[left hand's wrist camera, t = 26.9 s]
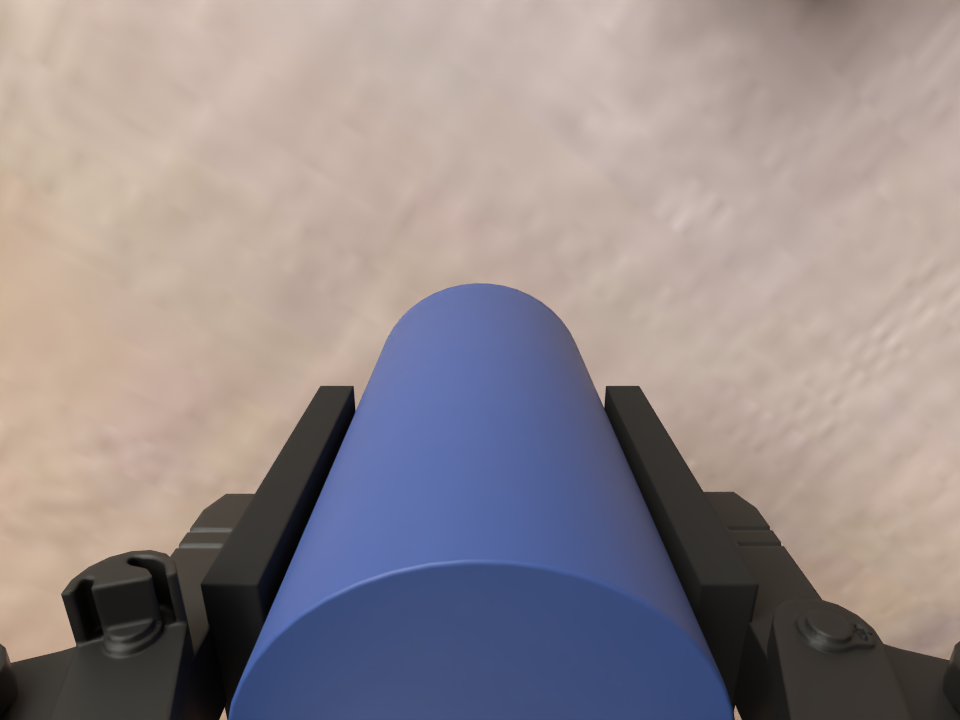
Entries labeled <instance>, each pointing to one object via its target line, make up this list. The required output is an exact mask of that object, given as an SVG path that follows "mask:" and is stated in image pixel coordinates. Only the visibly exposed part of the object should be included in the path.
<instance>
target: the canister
mask: <svg viewBox="0 0 960 720" xmlns="http://www.w3.org/2000/svg"><path fill="white" fill-rule="evenodd" d="M228 720H735V719H734V712H733V707H732V704H731V701H730V698H729V695H728V692H727V689H726V686H725V683H724V681H723V679H722V676H721V674H720V672H719V670H718V667H717V665H716V663H715V660H714V658H713V656H712V654H711V651H710V649H709V647H708V644H707V642H706V640H705V638H704V635H703V633H702V631H701V628H700V626H699V624H698V622H697V619H696V617H695V615H694V612H693V610H692V608H691V606H690V603H689V601H688V599H687V596H686V594H685V592H684V590H683V587H682V585H681V583H680V581H679V578H678V576H677V574H676V571H675V569H674V567H673V565H672V562H671V560H670V558H669V555H668V553H667V551H666V549H665V546H664V544H663V542H662V539H661V537H660V535H659V533H658V530H657V528H656V526H655V523H654V521H653V519H652V517H651V514H650V512H649V510H648V507H647V505H646V503H645V501H644V498H643V496H642V494H641V491H640V489H639V487H638V485H637V482H636V480H635V478H634V476H633V473H632V471H631V469H630V466H629V464H628V462H627V460H626V457H625V455H624V453H623V450H622V448H621V446H620V444H619V441H618V439H617V437H616V434H615V432H614V430H613V428H612V425H611V423H610V421H609V418H608V416H607V414H606V412H605V409H604V407H603V405H602V402H601V400H600V398H599V396H598V393H597V391H596V389H595V386H594V384H593V382H592V380H591V377H590V375H589V373H588V371H587V368H586V366H585V364H584V361H583V359H582V357H581V355H580V352H579V350H578V348H577V345H576V343H575V341H574V339H573V337H572V335H571V333H570V332H569V330H568V329H567V327H566V326H565V324H564V323H563V322H562V320H561V319H560V318H559V317H558V316H557V315H556V314H555V313H554V312H553V311H552V310H551V309H550V308H548V307H547V306H546V305H545V304H543V303H542V302H541V301H539V300H537V299H535V298H534V297H532V296H530V295H528V294H526V293H524V292H521V291H519V290H517V289H513V288H509V287H506V286H501V285H495V284H466V285H459V286H455V287H451V288H447V289H445V290H442V291H439V292H437V293H434V294H432V295H431V296H429V297H427V298H425V299H423V300H422V301H420V302H419V303H418V304H416V305H415V306H414V307H412V308H411V309H410V310H409V311H408V312H407V313H406V314H405V315H404V316H403V317H402V318H401V319H400V320H399V321H398V323H397V324H396V325H395V327H394V328H393V330H392V331H391V333H390V335H389V337H388V338H387V340H386V343H385V345H384V347H383V350H382V352H381V354H380V357H379V359H378V361H377V364H376V366H375V368H374V370H373V373H372V375H371V377H370V380H369V382H368V384H367V387H366V389H365V391H364V394H363V396H362V398H361V401H360V403H359V405H358V408H357V410H356V412H355V415H354V417H353V419H352V422H351V424H350V426H349V428H348V431H347V433H346V435H345V438H344V440H343V442H342V445H341V447H340V449H339V452H338V454H337V456H336V459H335V461H334V463H333V466H332V468H331V470H330V473H329V475H328V477H327V480H326V482H325V484H324V486H323V489H322V491H321V493H320V496H319V498H318V500H317V503H316V505H315V507H314V510H313V512H312V514H311V517H310V519H309V521H308V524H307V526H306V528H305V531H304V533H303V535H302V538H301V540H300V542H299V544H298V547H297V549H296V551H295V554H294V556H293V558H292V561H291V563H290V565H289V568H288V570H287V572H286V575H285V577H284V579H283V582H282V584H281V586H280V589H279V591H278V593H277V596H276V598H275V600H274V602H273V605H272V607H271V609H270V612H269V614H268V616H267V619H266V621H265V623H264V626H263V628H262V630H261V633H260V635H259V637H258V640H257V642H256V644H255V647H254V649H253V651H252V654H251V656H250V658H249V660H248V663H247V665H246V667H245V670H244V672H243V674H242V677H241V679H240V682H239V684H238V687H237V689H236V692H235V694H234V697H233V699H232V702H231V707H230V712H229V717H228Z"/></svg>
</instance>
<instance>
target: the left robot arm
mask: <svg viewBox="0 0 960 720" xmlns="http://www.w3.org/2000/svg"><path fill="white" fill-rule="evenodd" d="M604 409H605V412H606V414H607V416H608V418H609V421H610V423H611V425H612V428H613V430H614V432H615V434H616V437H617V439H618V441H619V444H620V446H621V448H622V450H623V453H624V455H625V457H626V460H627V462H628V464H629V466H630V469H631V471H632V473H633V476H634V478H635V480H636V482H637V485H638V487H639V489H640V491H641V494H642V496H643V498H644V501H645V503H646V505H647V507H648V510H649V512H650V514H651V517H652V519H653V521H654V523H655V526H656V528H657V530H658V533H659V535H660V537H661V539H662V542H663V544H664V546H665V549H666V551H667V553H668V555H669V558H670V560H671V562H672V565H673V567H674V569H675V571H676V574H677V576H678V578H679V581H680V583H681V585H682V587H683V590H684V592H685V594H686V596H687V599H688V601H689V603H690V606H691V608H692V610H693V612H694V615H695V617H696V619H697V622H698V624H699V626H700V628H701V631H702V633H703V635H704V638H705V640H706V642H707V644H708V647H709V649H710V651H711V654H712V656H713V658H714V660H715V663H716V665H717V667H718V670H719V672H720V674H721V676H722V679H723V681H724V683H725V686H726V689H727V692H728V695H729V698H730V701H731V704H732V707H733V712H734V708H735V705H736V707H737V710H738V712H739V714H740V716H741V719H742V720H960V642H958V643H957V644H956V645H955V647H954V650H953V652H952V655H951V658H950V661H949V660H945V659H941V658H937V657H932V656H928V655H924V654H919V653H915V652H911V651H907V650H902V649H898V648H895V647H892V646H888V645H885V644H883V642H882V641H881V639H880V638H879V636H878V635H877V633H876V632H875V630H874V629H873V628H872V627H871V626H870V625H868V624H867V623H866V622H865V621H864V620H863V619H861V618H860V617H859V616H858V615H856V614H854V613H852V612H850V611H849V610H847V609H845V608H843V607H841V606H839V605H837V604H833V603H830V602H827V601H823V600H822V599H821V597H820V596H819V595H818V593H817V592H816V590H815V589H814V588H813V586H812V585H811V583H810V582H809V581H808V579H807V578H806V577H805V575H804V574H803V572H802V571H801V570H800V568H799V567H798V565H797V564H796V563H795V561H794V560H793V558H792V557H791V556H790V554H789V553H788V552H787V550H786V549H785V547H784V546H781V542H780V540H779V539H778V538H777V536H776V535H775V533H774V532H773V531H772V530H770V526H769V525H768V524H767V522H766V521H765V520H764V518H763V517H762V515H761V514H760V513H759V511H758V510H757V508H755V507H754V506H753V505H751V504H750V503H748V502H747V501H746V500H744V499H743V498H741V497H740V496H739V495H737V494H736V493H734V492H703V491H702V489H701V487H700V486H699V484H698V482H697V481H696V479H695V477H694V476H693V474H692V473H691V471H690V469H689V468H688V466H687V464H686V463H685V461H684V459H683V458H682V456H681V454H680V453H679V451H678V449H677V448H676V446H675V445H674V443H673V441H672V440H671V438H670V436H669V435H668V433H667V431H666V430H665V428H664V426H663V425H662V423H661V421H660V420H659V418H658V417H657V415H656V413H655V412H654V410H653V408H652V407H651V405H650V403H649V402H648V400H647V398H646V397H645V395H644V393H643V392H642V390H641V388H640V387H639V386H606V394H605V407H604ZM354 415H355V399H354V387H353V386H320V388H319V389H318V391H317V393H316V394H315V396H314V398H313V399H312V401H311V403H310V404H309V406H308V408H307V409H306V411H305V413H304V414H303V416H302V417H301V419H300V421H299V422H298V424H297V426H296V427H295V429H294V431H293V432H292V434H291V436H290V437H289V439H288V441H287V442H286V444H285V445H284V447H283V449H282V450H281V452H280V454H279V455H278V457H277V459H276V460H275V462H274V464H273V465H272V467H271V469H270V470H269V472H268V473H267V475H266V477H265V478H264V480H263V482H262V483H261V485H260V487H259V488H258V490H257V492H256V493H255V494H225V495H224V496H223V497H221V498H220V499H218V500H217V501H216V502H214V503H213V504H211V505H210V506H209V507H207V508H206V509H204V510H203V512H202V513H201V515H200V516H199V517H198V519H197V520H196V522H195V523H194V524H193V526H192V527H191V529H190V533H187V534H186V536H185V537H184V538H183V540H182V541H181V542H180V544H179V548H176V549H175V551H174V552H173V554H172V555H171V556H170V557H169V556H168V555H167V554H165V553H161V552H156V551H152V550H146V551H131V552H127V553H123V554H120V555H116V556H112V557H109V558H107V559H105V560H103V561H101V562H99V563H96V564H94V565H92V566H90V567H88V568H87V569H86V570H84V571H83V572H82V573H80V574H79V575H78V576H76V577H75V578H74V579H72V580H71V582H70V583H69V584H68V586H67V587H66V588H65V590H64V591H63V592H62V594H61V595H62V598H63V602H64V605H65V608H66V612H67V615H68V618H69V621H70V625H71V628H72V631H73V635H74V638H75V641H76V647H73V648H70V649H67V650H64V651H60V652H56V653H52V654H47V655H43V656H39V657H35V658H30V659H26V660H22V661H18V662H13V663H11V662H10V660H9V657H8V654H7V651H6V648H5V647H4V646H2V645H1V644H0V720H219V719H220V716H221V714H222V712H223V710H224V707H225V710H226V715H227V720H228V717H229V712H230V707H231V702H232V699H233V697H234V694H235V692H236V689H237V687H238V684H239V682H240V679H241V677H242V674H243V672H244V670H245V667H246V665H247V663H248V660H249V658H250V656H251V654H252V651H253V649H254V647H255V644H256V642H257V640H258V637H259V635H260V633H261V630H262V628H263V626H264V623H265V621H266V619H267V616H268V614H269V612H270V609H271V607H272V605H273V602H274V600H275V598H276V596H277V593H278V591H279V589H280V586H281V584H282V582H283V579H284V577H285V575H286V572H287V570H288V568H289V565H290V563H291V561H292V558H293V556H294V554H295V551H296V549H297V547H298V544H299V542H300V540H301V538H302V535H303V533H304V531H305V528H306V526H307V524H308V521H309V519H310V517H311V514H312V512H313V510H314V507H315V505H316V503H317V500H318V498H319V496H320V493H321V491H322V489H323V486H324V484H325V482H326V480H327V477H328V475H329V473H330V470H331V468H332V466H333V463H334V461H335V459H336V456H337V454H338V452H339V449H340V447H341V445H342V442H343V440H344V438H345V435H346V433H347V431H348V428H349V426H350V424H351V422H352V419H353V417H354Z"/></svg>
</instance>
